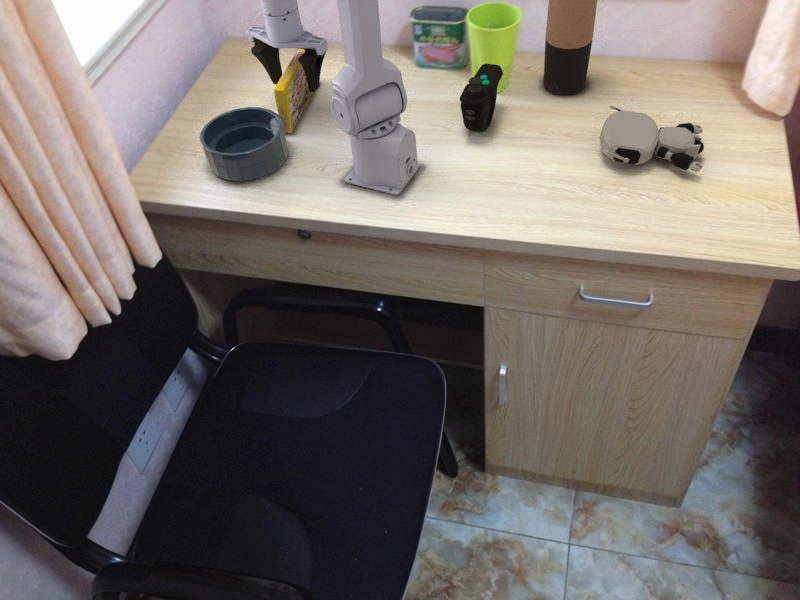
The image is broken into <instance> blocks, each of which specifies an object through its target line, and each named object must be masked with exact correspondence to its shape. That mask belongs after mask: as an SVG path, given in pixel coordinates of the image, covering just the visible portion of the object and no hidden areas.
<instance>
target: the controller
mask: <svg viewBox="0 0 800 600" xmlns="http://www.w3.org/2000/svg"><path fill="white" fill-rule="evenodd" d="M503 75H504V72H503V69H502V67H501V66H500V65H498V64H494V63H482V64H481V66H480V67H479V69H478V70H477V71H476V73H475V75H474V76H473V77H470V78H469V79H468V81H467V82H468V84H466V85H465V86H464V88H463V90H462V92H461V94H460V96H459V101H460V110H461V115H462V121H463V126H464V127H465V129H466V130H468V131H470V132H475V133H483V132H485V131H486V130H488V129H489V127H490V125H491V123H492V120H493V117H494V114H495V109H496V103H497V97H498V96H497V95H498V86H499V83H500V81H501V79H502V77H503Z"/></svg>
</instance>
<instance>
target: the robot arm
mask: <svg viewBox="0 0 800 600" xmlns="http://www.w3.org/2000/svg"><path fill="white" fill-rule="evenodd" d="M336 3H337V10H338V19H339V27H340V28H339V29H340V35H341V43H342V44H341V45H342V52H343V59H344V64H343V65H342V67H341V68H340V69H339V71H338V73H337V74H336V75H335V76H334V78H333V80H332V81H331V86H332V88H331V90H332V96H331V101H330V107H331V112H332V115H333V118H334V121H335V122H336V124H337V126H338V127H339V129H340V130H341V131H342V132H343V133H345V134H346V135H348V137H349V144H350V149H351V150H350V151H351V156H352V162H353V168H352V169H351V170H350V171H349V173H348V174H347V175H346V176H345V178H344V182H345V183H348V184H351V185H355V186H358V187H363V188H366V189H369V190H370V189H371V190H374V191H377V192H382V193H386V194H390V195H392V196H393V195H394V196H399V195H400V194H401V193H402V191H403V190H404V189H405V187H406V186H408V185H407V184H408V183H409V182H410V181H411V179H412V178H413V177H414V176H415V174H416V172H418V170H419V169H420V167H421V164H420V162H418V151H417V137H416V134H415V132H414V131H413V130H412V129H410V128H409V127H408V128H407V127H406V126H404V125H402V124H401V123H400V122H401V114H403V113H404V112H405V111H406V110H407V106H408V94H407V90H406V88H405V85H404V81H403V77H402V76H403V73H402V72H401V70H400V68H398V66H397V65H396V64H395V63H393V62H392V61H391V60H388V59H386V58H384V57H383V48H382V35H381V34H382V33H381V22H380V10H379V9H380V8H379V7H380V6H379V0H336ZM259 5H260V9H261V12H262V17H263V20H264V26H257V25H252V26H250V27H249V28H248V29H247V30H246V35H247V39H248V42H249V43H254V44H253V46H252V47H251V48H250V51H251V54H252V55H253V56H254V57H255V58H256V59H257V61H259V62H260V64H261V65H262V67H263V68H264V70H265V71H266V73H267V75H268V76H269V79H270V81H271V82H272V84H273V85H275V86H276V85H277V83H278V82H279V80H280V78H281V76H282V75H283V69H282V64H281V59H280V49H297V50H298V49H303V50H305V53H303V54H302V55H301V56H300V57H299V58H298V61H299V62H300V64H301V66H302V68H303V70H304V72H305V75H306V79H307V83H308V88H309V90H310V92H312V93H315V92H316V91H317V90H318V89H319V88H320V85H321V84H320V83H321V72H322V68H323V67H322V66H323V62H324V60H325V56H326V54H327V51H329V47H328V41H327V40H328V39H327V38H326V37H321V36H319V35H316V34H314V33H312V32H309V31H308V30H306V29H304V25H303V24H302V21H301V15H300V9H299V5H298V0H259Z"/></svg>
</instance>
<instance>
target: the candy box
mask: <svg viewBox="0 0 800 600" xmlns="http://www.w3.org/2000/svg"><path fill="white" fill-rule="evenodd" d="M303 53H305V50H303V49H298V48H297V50H296V51H295V53H294V55H293V57H292V58H291V60H290V61H289V63H288V64H287V67H286V68H285V70H284V71H283V72H282V76H281V78H280V80H279V82H278V83H277V85H276V84H275V87H274V88H273V95H274V99H275V104H276V111H277V114H278V115H279V116H280V118H281V119H282V121H283V125H284V129H285V134H292V132H293V130H294V128H295V126H296V124H297V122H298V120H300V119H299V118H300V116H301V114H302V113H303V111H304V109H305V108H306V106H307V104H308V102H309V100H310V98H311V95H312V94H313V92H310V90H309V88H308V83H307V79H306V75H305V72H304V70H303V68H302V66H301V64H300V62H299V61H298V58H299V57H300V56H301V55H302V54H303Z"/></svg>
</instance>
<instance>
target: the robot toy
mask: <svg viewBox="0 0 800 600" xmlns="http://www.w3.org/2000/svg"><path fill="white" fill-rule="evenodd" d="M608 107H609V108H610V109H612V110H615V111H616V112H613V113H611V114H609V116H607V118H606V119H605V120H604V123H603V125H602V127H601V131H600V135H599V143H600V148H601V153H602V154H604V155H605V156H606V157H607V158H608V159H609V160H611V161H613V162H617V163H620V164H628V165H635V166H637V165H641V164H644V163H646V162H648V161H649V160H651V159H652V157H653V156H654V155H656V157H657V158H659V159H662V160H666V161H668V162H670V163H672V164H673V165H674V166H675V167H676V168H678V169H681V170H683V171H685V172H686V171H688V170H691V172H695V173H698V172H700V171H701V170H702V169H703V163H702V162H699V161H694V160H695V159H696V158H697V157H698V155H700V154H701V153H702V152H703V151H704V149H705V145H704V142H703V141H702V138H701V136H700V134H702V133H703V131H704V129H703V127H702V126H701V125H699V124H693V123H692V122H685V123H679V124H677V125H676V126H663V127H658V125H657V123H656V122H655V120H654V119H653V118H652V117H651V116H649V115H648V114H647V113H644V112H639V111H638V112H637V111H632V110H624V109H621V108H619V107H617V106H615V105H612V104H611V105H609V106H608Z"/></svg>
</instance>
